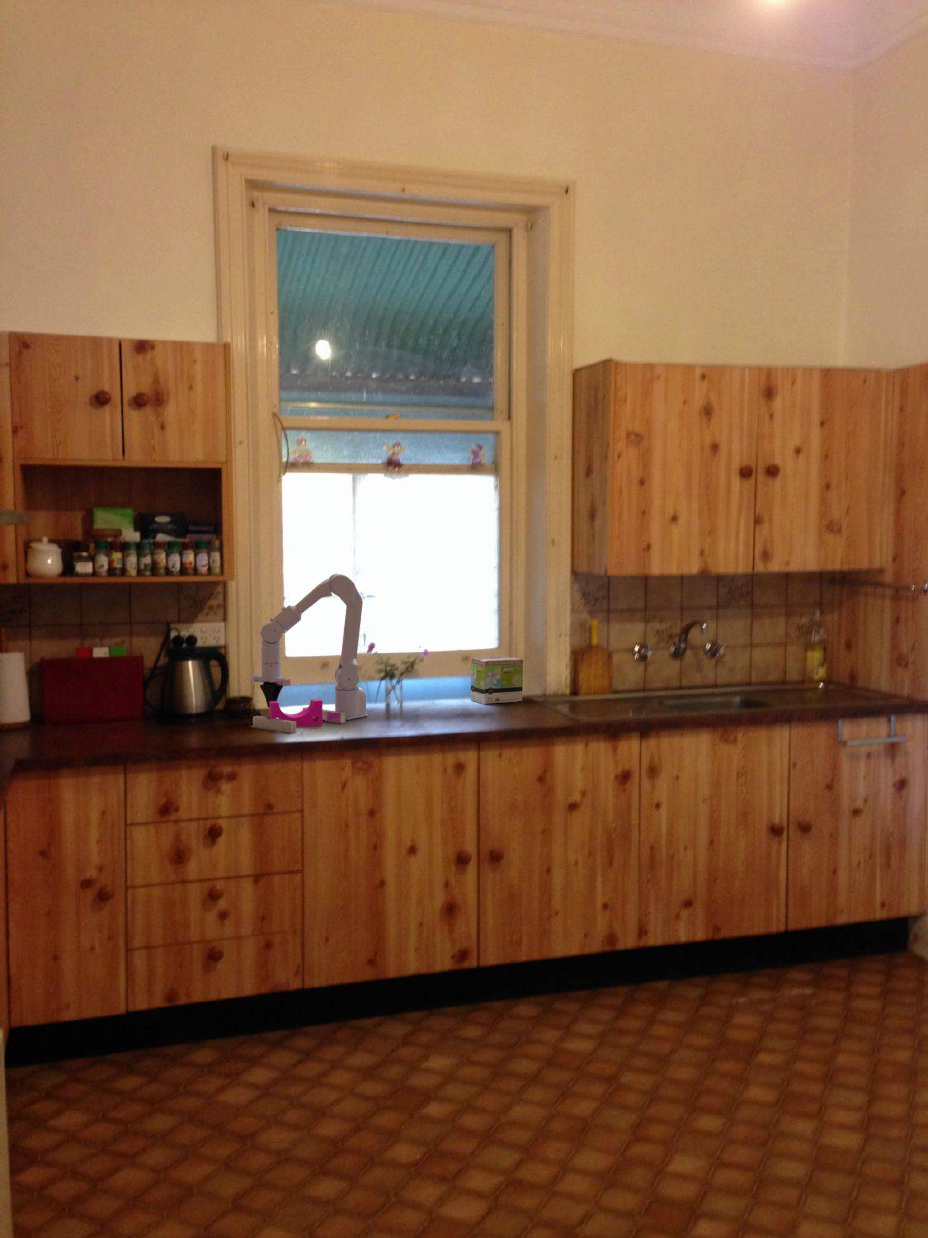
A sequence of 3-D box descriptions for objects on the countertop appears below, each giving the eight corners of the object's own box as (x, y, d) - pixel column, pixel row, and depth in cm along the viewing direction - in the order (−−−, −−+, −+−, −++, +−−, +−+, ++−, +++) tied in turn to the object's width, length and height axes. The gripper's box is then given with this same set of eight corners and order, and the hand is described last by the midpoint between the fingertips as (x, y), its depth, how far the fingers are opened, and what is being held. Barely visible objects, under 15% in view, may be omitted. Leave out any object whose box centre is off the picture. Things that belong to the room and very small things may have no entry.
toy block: (318, 722, 326) (318, 697, 326) (322, 726, 320) (322, 700, 320) (268, 725, 321) (267, 700, 321) (271, 728, 315) (271, 703, 315)
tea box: (484, 705, 359) (485, 660, 358) (470, 701, 368) (470, 657, 367) (523, 701, 366) (523, 658, 365) (508, 697, 375) (508, 655, 374)
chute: (309, 716, 335) (309, 706, 335) (347, 722, 325) (347, 712, 325) (250, 727, 317) (250, 717, 316) (288, 733, 307) (288, 723, 307)
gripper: (244, 662, 328) (245, 706, 329) (277, 665, 319) (278, 711, 320) (262, 659, 334) (263, 703, 335) (295, 663, 325) (295, 708, 326)
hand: (271, 707), depth 328 cm, fingers closed
